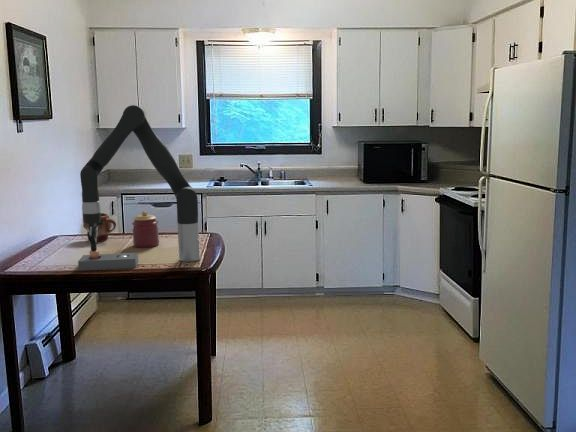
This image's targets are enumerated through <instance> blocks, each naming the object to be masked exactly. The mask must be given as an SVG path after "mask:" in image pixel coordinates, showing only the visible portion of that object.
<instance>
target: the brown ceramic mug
mask: <svg viewBox="0 0 576 432" xmlns="http://www.w3.org/2000/svg"><path fill="white" fill-rule="evenodd" d="M82 225H83V226H82V227H83V228H84V229H85V230H86V231H87V227H88V224H86V223H82ZM96 226H98V236H97V242H96V243H99V242H104V241H106V240H108V238H109V234H111V233H112V232H113V231H115V229H116V227H117V223H116V221H115V219H112V218H110V216H109V214H107V213H104V212H102V213H101V222H99V223H96ZM112 226H113V228H112ZM87 232H88V231H87ZM87 240H88V241H89V239H88V238H87Z"/></svg>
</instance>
